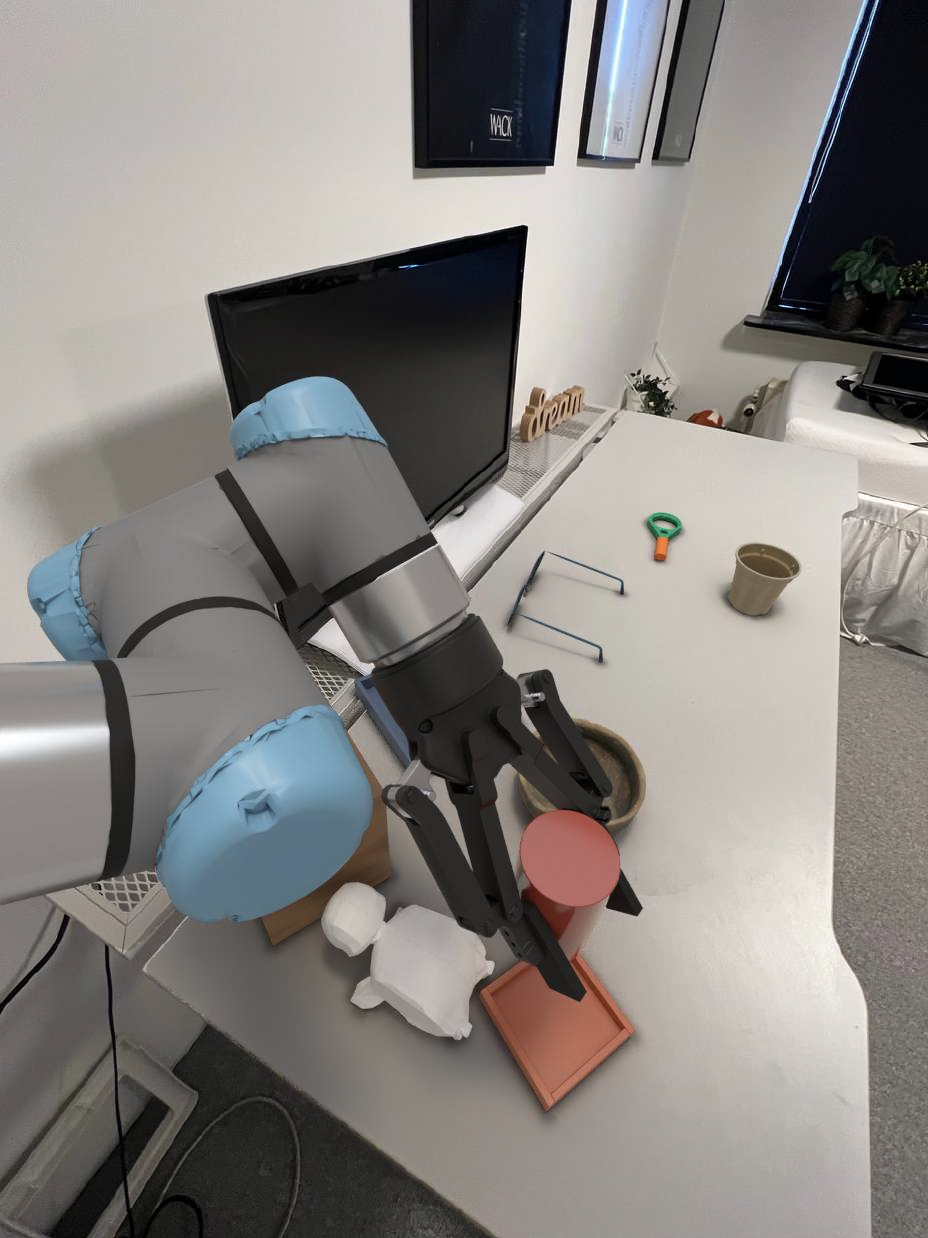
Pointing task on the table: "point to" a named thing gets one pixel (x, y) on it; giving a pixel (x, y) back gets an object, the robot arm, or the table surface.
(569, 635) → the sunglasses
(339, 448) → the robot arm
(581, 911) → the red cylinder
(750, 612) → the flower pot
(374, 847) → the brown wooden block
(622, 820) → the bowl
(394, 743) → the blue tray
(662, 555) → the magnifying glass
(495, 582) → the table surface
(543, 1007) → the red tray
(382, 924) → the white turtle figurine
